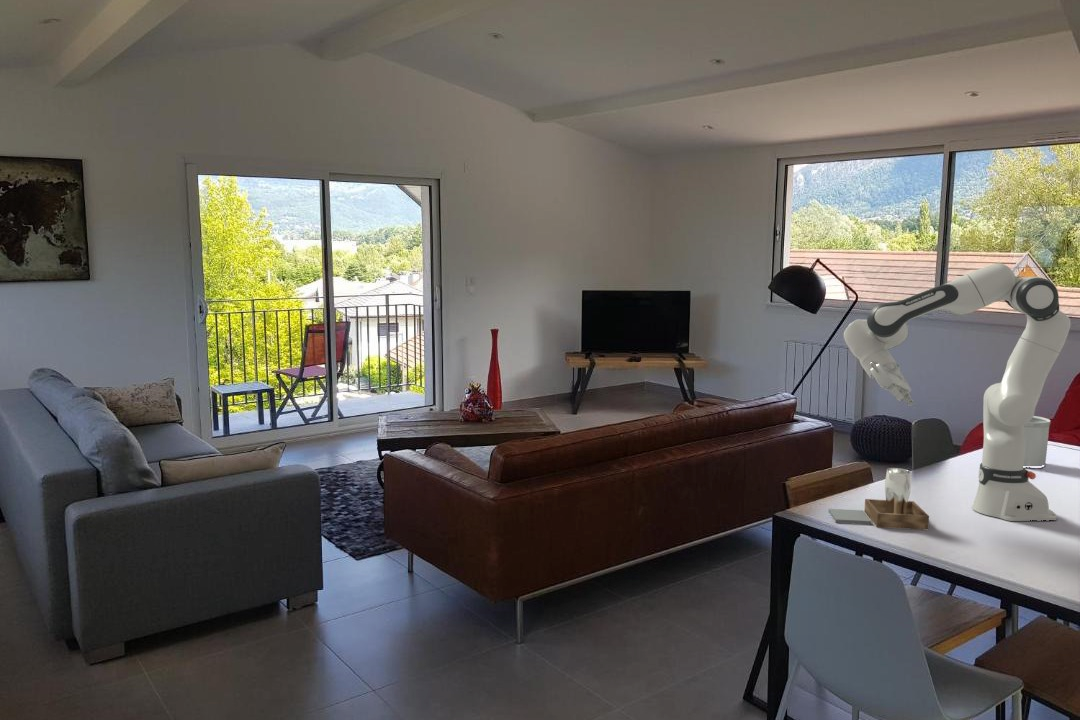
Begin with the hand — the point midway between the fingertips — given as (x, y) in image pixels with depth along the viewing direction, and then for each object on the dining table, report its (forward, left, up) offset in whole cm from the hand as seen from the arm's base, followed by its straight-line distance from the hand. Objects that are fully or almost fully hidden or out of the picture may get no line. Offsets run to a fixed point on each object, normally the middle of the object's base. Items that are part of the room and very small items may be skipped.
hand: (906, 402), depth 250 cm
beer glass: (+4, +10, -34) cm, 35 cm away
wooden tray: (+4, +10, -34) cm, 35 cm away
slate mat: (+17, +10, -34) cm, 39 cm away
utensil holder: (-63, -66, -34) cm, 98 cm away
